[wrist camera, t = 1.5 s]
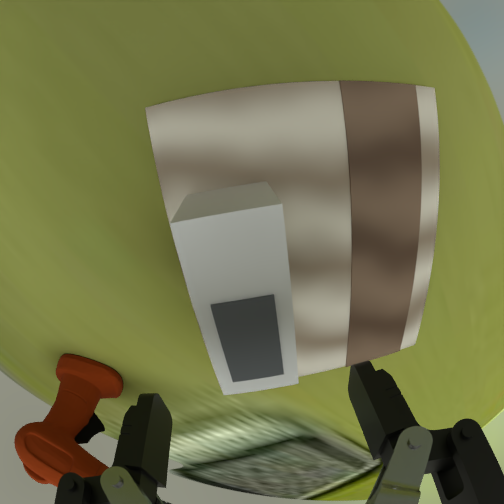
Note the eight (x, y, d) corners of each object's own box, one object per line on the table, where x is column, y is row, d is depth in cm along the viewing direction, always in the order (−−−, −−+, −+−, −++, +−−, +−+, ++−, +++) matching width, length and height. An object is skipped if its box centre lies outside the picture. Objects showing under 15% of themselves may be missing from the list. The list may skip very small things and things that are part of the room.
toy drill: (219, 427, 28) (202, 546, 14) (66, 369, 26) (8, 464, 12) (231, 405, 26) (215, 543, 12) (62, 341, 24) (-11, 444, 10)
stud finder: (186, 194, 17) (169, 224, 12) (266, 181, 17) (283, 205, 12) (223, 342, 22) (223, 397, 17) (284, 332, 22) (299, 385, 17)
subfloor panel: (150, 108, 16) (144, 107, 15) (425, 88, 16) (435, 87, 15) (221, 379, 26) (221, 390, 25) (409, 337, 26) (415, 345, 25)
